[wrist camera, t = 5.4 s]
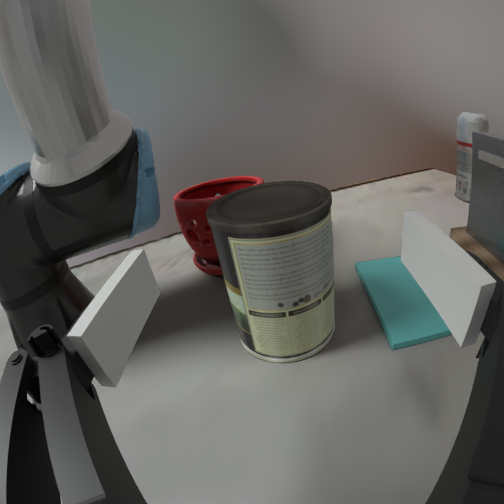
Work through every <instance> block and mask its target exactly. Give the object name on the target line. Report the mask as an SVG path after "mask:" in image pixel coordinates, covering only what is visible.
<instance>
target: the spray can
mask: <svg viewBox="0 0 504 504" xmlns="http://www.w3.org/2000/svg"><path fill="white" fill-rule="evenodd" d="M488 128H489V127H488V119H487V117H486V116H485V115H484V114H473V113H468V112H463V113H461V115H460V116H459V117H458V119H457V127H456V137H457V180H456V193H455V195H456V196H457V197H458V198H460V199H461V200H463V201H467V202H470V194H471V179H472V132H484V133H488Z"/></svg>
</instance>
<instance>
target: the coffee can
mask: <svg viewBox="0 0 504 504" xmlns="http://www.w3.org/2000/svg"><path fill="white" fill-rule="evenodd" d="M331 204H332V195H331V193H330V191H329V190H328V189H327V188H325V187H323V186H321V185H318V184H314V183H310V182H302V181H281V182H271V183H264V184H258V185H254V186H250V187H246V188H242V189H239V190H236V191H233V192H231V193H229V194H226V195H224V196H222V197H220V198H219V199H217V200H216V201H214V202H213V203H212V204H211V205H210V206H209V207H208V208H207V210H206V217H207V220H208V223H209V225H210V227H211V231H212V234H213V239H214V242H215V246H216V250H217V254H218V257H219V261H220V265H221V269H222V273H223V276H224V280H225V284H226V288H227V291H228V295H229V298H230V302H231V306H232V309H233V313H234V317H235V320H236V323H237V327H238V331H239V337H240V340H241V343H242V345H243V346H244V348H245V349H246V350H247V351H248V352H249V353H250V354H252V355H253V356H255V357H257V358H259V359H261V360H265V361H269V362H275V363H288V362H295V361H300V360H303V359H305V358H308V357H310V356H312V355H314V354H316V353H317V352H319V351H320V350H321V349H323V348H324V347H325V346H326V345H327V343H328V342H329V341H330V340H331V338H332V335H333V333H334V330H335V320H334V262H333V237H332V222H331Z"/></svg>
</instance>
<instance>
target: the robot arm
mask: <svg viewBox="0 0 504 504" xmlns="http://www.w3.org/2000/svg"><path fill="white" fill-rule="evenodd" d="M0 69H1V72H2V75H3V78H4V80H5V83H6V86H7V89H8V91H9V94H10V96H11V99H12V102H13V104H14V106H15V109H16V111H17V113H18V116H19V118H20V120H21V123H22V125H23V127H24V129H25V131H26V134H27V136H28V138H29V140H30V142H31V144H32V146H33V148H34V150H35V153H34V156H33V159H32V162H31V163H30V162H25V163H22V164H20V165H17V166H16V167H13V168H12V169H10V170H8V171H7V172H5V173H4V174H3V175H1V176H0V303H1V305H2V306H3V308H4V310H5V312H6V314H7V317H8V320H9V324H10V327H11V330H12V333H13V337H14V340H15V343H16V345H17V348H18V351H15V352H14V353H13V354H11V356H10V358H9V359H8V361H7V363H6V366H5V369H4V373H3V376H2V379H1V383H0V504H61V499H62V502H63V504H147V503H146V501H145V499H144V498H143V496H142V494H141V492H140V491H139V489H138V487H137V485H136V483H135V481H134V479H133V478H132V476H131V474H130V472H129V470H128V468H127V466H126V464H125V461H124V459H123V457H122V455H121V453H120V451H119V449H118V446H117V444H116V442H115V439H114V437H113V435H112V432H111V430H110V427H109V425H108V422H107V420H106V417H105V414H104V412H103V409H102V406H101V403H100V401H99V398H98V395H97V392H96V389H95V387H94V386H93V384H92V383H91V382H92V380H93V378H94V377H95V378H96V379H97V380H98V382H99V383H100V384H101V386H109V387H116V386H117V384H118V381H119V379H120V377H121V375H122V372H123V370H124V368H125V366H126V363H127V361H128V359H129V357H130V355H131V353H132V350H133V348H134V346H135V344H136V342H137V340H138V338H139V336H140V333H141V331H142V329H143V327H144V325H145V323H146V321H147V319H148V317H149V315H150V313H151V311H152V309H153V307H154V305H155V303H156V301H157V299H158V297H159V295H160V291H159V288H158V286H157V283H156V281H155V278H154V275H153V273H152V270H151V267H150V265H149V262H148V259H147V256H146V254H145V251H144V249H141V250H135V251H131V252H130V254H129V255H128V256H127V257H126V258H125V260H124V261H123V262H122V263H121V264H120V266H119V267H118V268H117V269H116V271H115V272H114V273H113V274H112V276H111V277H110V278H109V279H108V281H107V282H106V283H105V285H104V286H103V287H102V288H101V290H100V291H99V292H98V294H97V295H96V296H94V295H93V294H92V293H91V292H90V291H89V290H88V289H87V288H86V287H85V286H84V285H83V284H82V283H81V282H80V281H79V280H78V279H77V277H76V276H75V275H74V274H73V273H72V272H71V271H70V269H69V267H68V264H67V262H66V259H69V258H72V257H75V256H78V255H80V254H83V253H86V252H89V251H92V250H95V249H98V248H101V247H104V246H107V245H110V244H113V243H116V242H119V241H122V240H125V239H130V238H132V237H133V236H134V235H137V234H139V233H142V232H144V231H146V230H149V229H151V228H153V227H154V226H155V225H156V224H157V222H158V220H159V217H160V204H159V194H158V186H157V180H156V175H155V172H154V171H155V168H154V159H153V153H152V147H151V142H150V138H149V134H148V132H147V130H145V129H137V128H136V129H134V130H133V127H132V123H131V120H130V119H129V117H128V116H126V115H125V114H123V113H121V112H118V111H115V110H112V107H111V104H110V100H109V96H108V92H107V88H106V84H105V80H104V76H103V72H102V67H101V64H100V58H99V54H98V49H97V44H96V39H95V34H94V29H93V23H92V17H91V11H90V5H89V0H0ZM401 262H402V263H403V264H404V265H405V267H406V268H407V269H408V271H409V272H410V273H411V275H412V276H413V277H414V279H415V280H416V282H417V283H418V284H419V286H420V287H421V288H422V290H423V291H424V293H425V294H426V295H427V297H428V298H429V300H430V301H431V303H432V304H433V306H434V307H435V308H436V310H437V311H438V313H439V314H440V316H441V317H442V319H443V320H444V322H445V324H446V325H447V327H448V328H449V330H450V331H451V333H452V334H453V336H454V338H455V339H456V341H457V343H458V344H459V346H460V347H461V348H462V347H465V346H467V345H470V344H473V343H476V340H477V338H478V335H479V333H480V330H481V332H482V333H483V335H484V336H485V338H484V340H483V343H482V345H481V347H480V350H479V352H478V354H477V356H476V358H479V362H478V367H477V372H476V376H475V380H474V384H473V388H472V392H471V395H470V399H469V402H468V406H467V409H466V412H465V415H464V418H463V421H462V424H461V427H460V430H459V433H458V435H457V438H456V441H455V443H454V446H453V448H452V451H451V453H450V456H449V458H448V460H447V462H446V465H445V467H444V469H443V471H442V473H441V475H440V478H439V480H438V482H437V484H436V486H435V487H434V489H433V491H432V493H431V495H430V497H429V499H428V500H427V502H426V503H425V504H504V281H503V280H502V279H501V278H500V277H499V276H498V275H497V274H496V273H495V272H494V271H493V270H491V269H490V268H488V266H487V265H486V264H485V263H483V261H482V260H481V259H480V258H479V257H478V256H477V255H475V254H473V253H471V252H469V251H467V250H465V251H464V250H463V249H462V248H461V247H460V246H459V245H458V244H457V243H455V242H454V241H453V240H452V239H451V238H450V237H449V236H447V235H446V234H445V233H444V232H443V231H441V230H440V229H439V228H438V227H437V226H435V225H434V224H433V223H432V222H431V221H429V220H428V219H427V218H426V217H424V216H423V215H422V214H421V213H419V212H418V211H417V210H412V211H404V212H403V233H402V251H401ZM479 356H480V357H479ZM27 393H28V394H29V395H30V396H31V398H32V399H33V404H31V403H30V402H29V401H28V400H27ZM60 496H61V499H60Z"/></svg>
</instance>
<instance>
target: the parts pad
mask: <svg viewBox="0 0 504 504" xmlns="http://www.w3.org/2000/svg"><path fill="white" fill-rule="evenodd" d="M355 269H356V271H357V273H358V275H359V277H360V279H361V281H362V283H363V285H364V287H365V289H366V291H367V294H368V296H369V298H370V300H371V302H372V304H373V307H374V309H375V311H376V313H377V316H378V318H379V320H380V322H381V325H382V327H383V329H384V332H385V334H386V336H387V339H388V341H389V343H390V346H391V348H392V350H395V349H399V348H403V347H407V346H411V345H415V344H419V343H423V342H427V341H430V340H434V339H437V338H441V337H444V336H448V335H451V334H452V333H451V331H450V330H449V328H448V327H447V325H446V324H445V322H444V320H443V319H442V317H441V316H440V314H439V313H438V311H437V310H436V308H435V307H434V306H433V304H432V303H431V301H430V300H429V298H428V297H427V295H426V294H425V293H424V291H423V290H422V288H421V287H420V286H419V284H418V283H417V282H416V280H415V279H414V277H413V276H412V275H411V273H410V272H409V271H408V269H407V268H406V267H405V265H404V264H403V263H402V262H401V256H398V257H392V258H385V259H379V260H372V261H366V262H359V263H355Z"/></svg>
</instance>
